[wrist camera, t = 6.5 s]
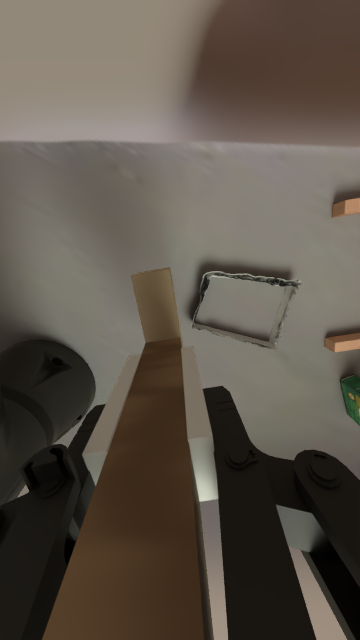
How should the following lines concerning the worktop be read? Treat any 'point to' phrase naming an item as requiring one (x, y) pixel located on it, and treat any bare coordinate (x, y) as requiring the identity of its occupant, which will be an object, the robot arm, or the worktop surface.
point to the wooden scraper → (142, 506)
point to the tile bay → (354, 339)
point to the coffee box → (352, 396)
